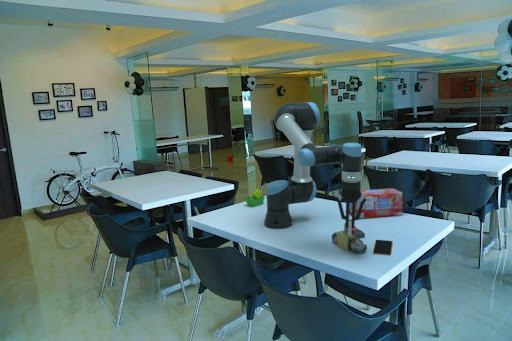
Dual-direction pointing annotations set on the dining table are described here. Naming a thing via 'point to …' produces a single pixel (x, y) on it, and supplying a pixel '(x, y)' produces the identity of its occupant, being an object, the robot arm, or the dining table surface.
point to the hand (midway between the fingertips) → (349, 235)
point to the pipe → (348, 242)
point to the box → (379, 203)
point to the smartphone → (383, 247)
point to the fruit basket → (255, 199)
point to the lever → (355, 232)
